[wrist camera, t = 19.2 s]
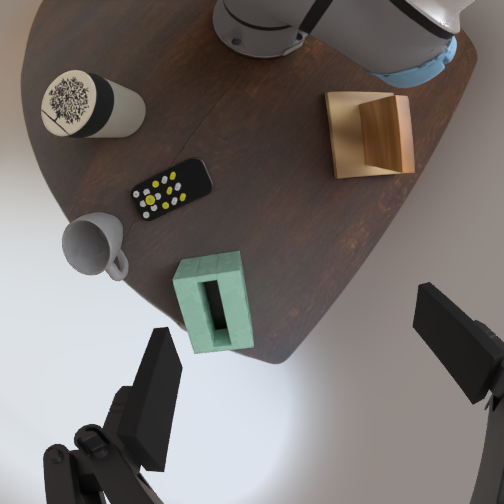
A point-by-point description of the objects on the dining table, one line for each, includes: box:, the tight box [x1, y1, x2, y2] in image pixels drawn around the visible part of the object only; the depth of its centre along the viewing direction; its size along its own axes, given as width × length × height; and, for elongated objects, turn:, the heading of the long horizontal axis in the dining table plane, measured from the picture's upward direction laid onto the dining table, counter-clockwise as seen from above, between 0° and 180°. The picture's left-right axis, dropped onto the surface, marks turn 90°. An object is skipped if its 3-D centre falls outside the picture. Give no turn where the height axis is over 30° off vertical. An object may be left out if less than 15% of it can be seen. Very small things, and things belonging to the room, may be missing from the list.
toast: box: [359, 95, 415, 173], centre depth 36 cm, size 2×10×12 cm, turn 8°
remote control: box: [131, 158, 213, 221], centre depth 44 cm, size 6×13×2 cm, turn 112°
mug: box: [62, 212, 128, 281], centre depth 43 cm, size 12×9×10 cm
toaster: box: [173, 251, 254, 354], centre depth 49 cm, size 10×16×8 cm, turn 8°
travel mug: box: [41, 70, 146, 138], centre depth 32 cm, size 8×8×18 cm
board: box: [325, 92, 401, 179], centre depth 43 cm, size 14×12×2 cm
